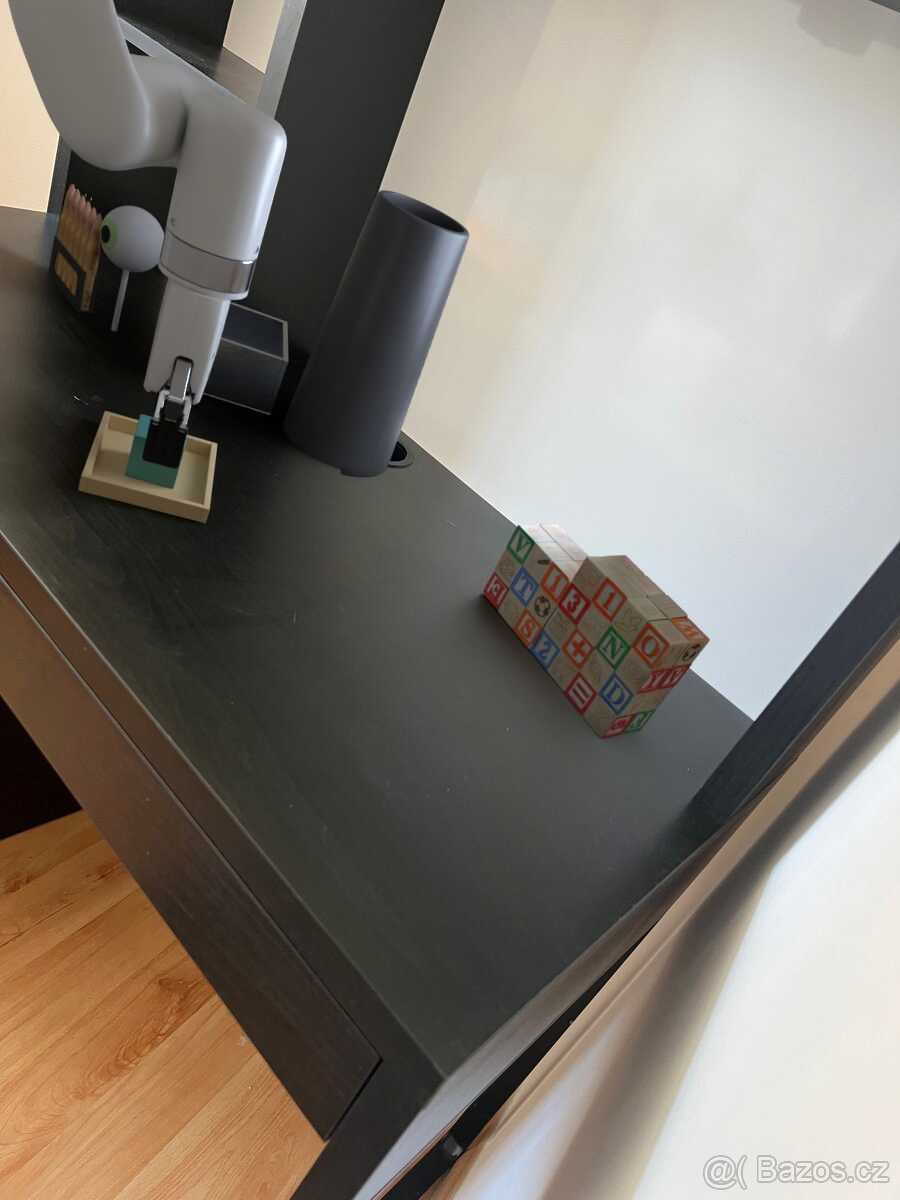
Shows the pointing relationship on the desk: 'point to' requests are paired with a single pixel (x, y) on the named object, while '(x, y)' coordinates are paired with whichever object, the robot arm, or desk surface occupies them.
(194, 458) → the shallow wooden tray
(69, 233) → the ammunition clip
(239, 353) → the dark open-top crate
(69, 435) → the desk surface
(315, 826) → the desk surface
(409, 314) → the vase
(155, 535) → the desk surface
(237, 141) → the robot arm
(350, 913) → the desk surface
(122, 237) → the lollipop
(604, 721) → the stack of blocks
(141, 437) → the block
